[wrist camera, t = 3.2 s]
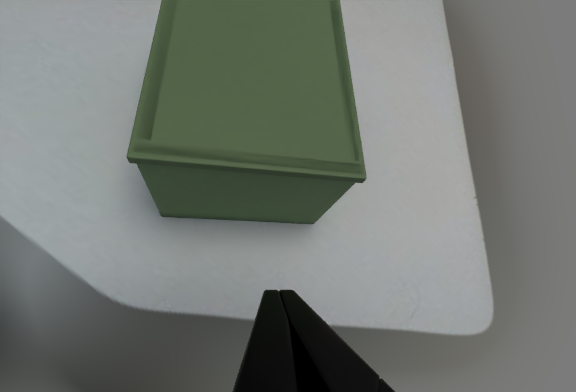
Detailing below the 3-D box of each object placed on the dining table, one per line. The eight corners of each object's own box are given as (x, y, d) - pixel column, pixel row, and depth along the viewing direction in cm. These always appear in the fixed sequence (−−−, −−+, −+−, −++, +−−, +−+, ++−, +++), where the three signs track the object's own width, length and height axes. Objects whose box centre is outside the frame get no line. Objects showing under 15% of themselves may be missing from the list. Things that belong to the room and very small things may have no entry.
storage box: (316, 226, 24) (367, 178, 16) (158, 219, 22) (125, 157, 14) (306, 78, 31) (338, -7, 23) (183, 58, 28) (172, -48, 20)
